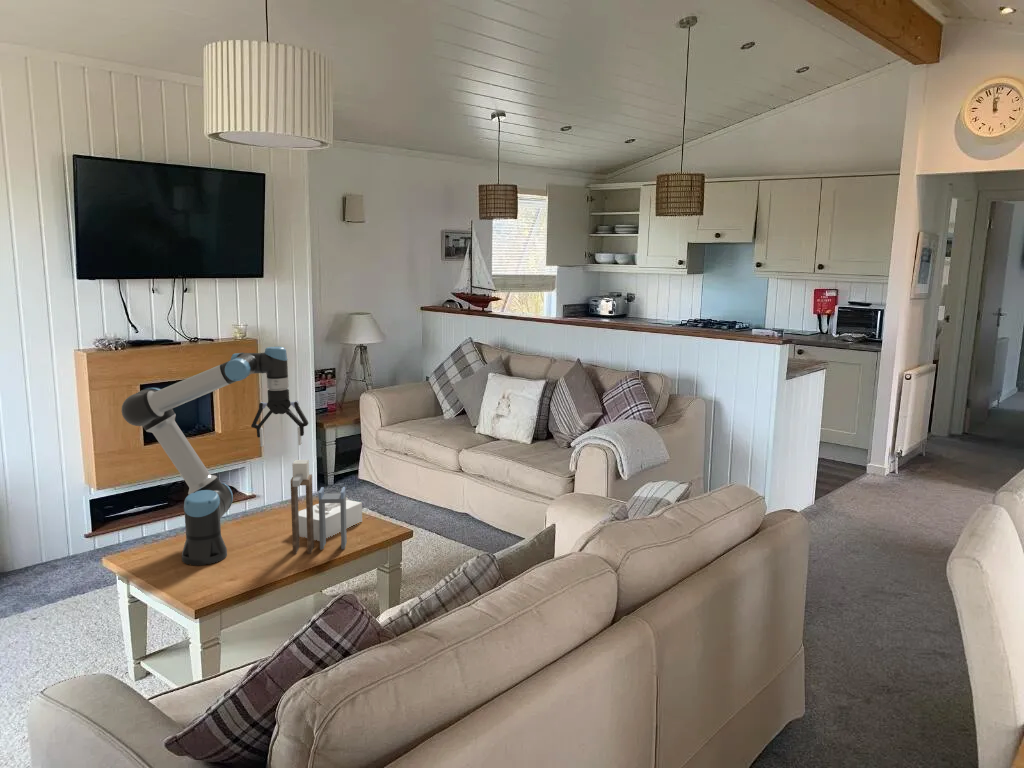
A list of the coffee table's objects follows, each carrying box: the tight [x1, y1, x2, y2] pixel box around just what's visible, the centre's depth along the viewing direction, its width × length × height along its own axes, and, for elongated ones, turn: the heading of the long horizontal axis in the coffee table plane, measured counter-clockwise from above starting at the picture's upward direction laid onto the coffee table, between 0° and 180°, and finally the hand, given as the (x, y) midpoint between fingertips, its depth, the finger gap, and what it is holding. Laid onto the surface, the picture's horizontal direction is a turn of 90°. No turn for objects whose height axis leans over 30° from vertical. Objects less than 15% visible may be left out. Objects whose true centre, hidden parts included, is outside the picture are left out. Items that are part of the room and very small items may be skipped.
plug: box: [291, 459, 310, 487], centre depth 276 cm, size 5×14×6 cm, turn 6°
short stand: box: [318, 486, 348, 551], centre depth 288 cm, size 9×7×22 cm
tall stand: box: [290, 474, 315, 555], centre depth 283 cm, size 6×7×28 cm
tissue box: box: [298, 496, 363, 542], centre depth 308 cm, size 14×25×11 cm, turn 152°
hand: (281, 445), depth 286 cm, fingers open, 13 cm apart
